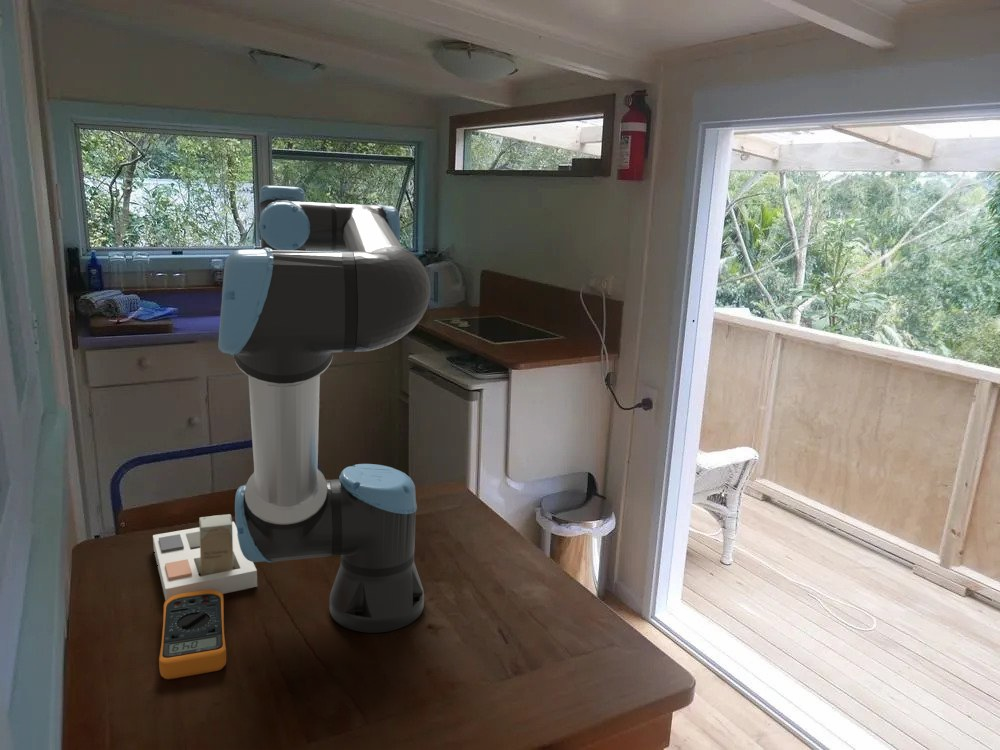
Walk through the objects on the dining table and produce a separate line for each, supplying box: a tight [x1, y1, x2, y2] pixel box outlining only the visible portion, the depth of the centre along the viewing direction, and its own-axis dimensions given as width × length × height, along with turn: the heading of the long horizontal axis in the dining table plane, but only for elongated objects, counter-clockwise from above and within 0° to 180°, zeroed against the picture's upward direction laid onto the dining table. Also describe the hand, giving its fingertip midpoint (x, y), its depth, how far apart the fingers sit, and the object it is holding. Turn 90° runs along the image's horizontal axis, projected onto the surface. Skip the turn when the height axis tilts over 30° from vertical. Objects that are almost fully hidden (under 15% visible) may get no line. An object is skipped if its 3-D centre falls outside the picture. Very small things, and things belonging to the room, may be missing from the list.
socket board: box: [152, 520, 258, 602], centre depth 128 cm, size 20×14×4 cm
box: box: [198, 513, 234, 576], centre depth 124 cm, size 5×4×11 cm
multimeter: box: [158, 590, 227, 680], centre depth 109 cm, size 9×18×3 cm, turn 21°
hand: (286, 404), depth 136 cm, fingers closed
